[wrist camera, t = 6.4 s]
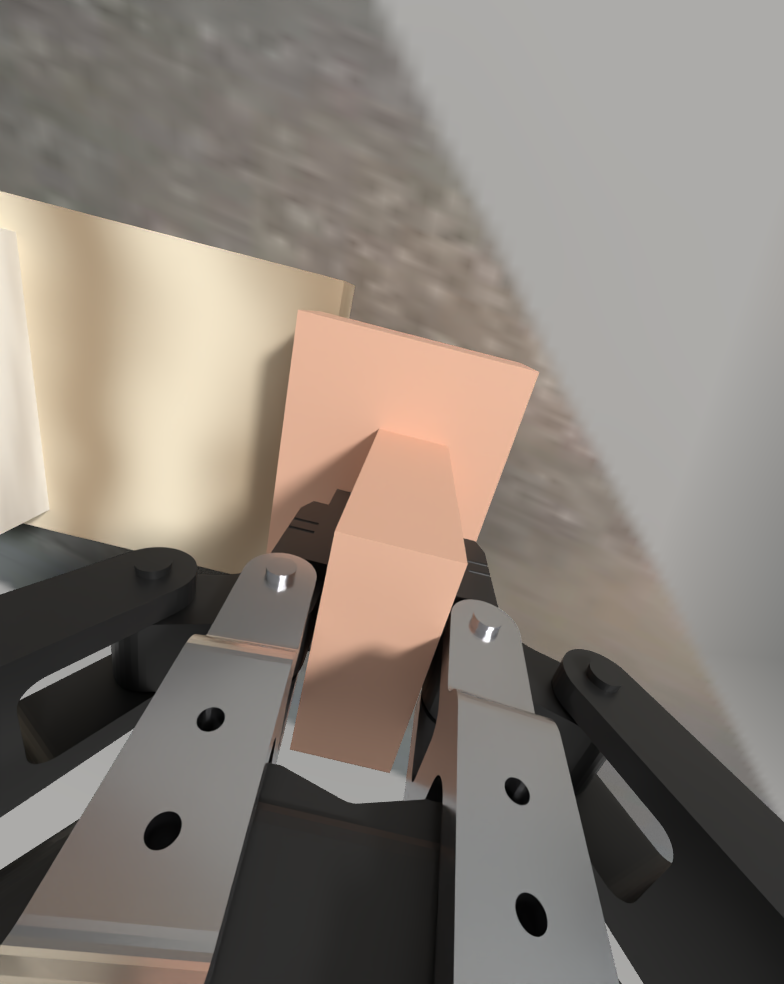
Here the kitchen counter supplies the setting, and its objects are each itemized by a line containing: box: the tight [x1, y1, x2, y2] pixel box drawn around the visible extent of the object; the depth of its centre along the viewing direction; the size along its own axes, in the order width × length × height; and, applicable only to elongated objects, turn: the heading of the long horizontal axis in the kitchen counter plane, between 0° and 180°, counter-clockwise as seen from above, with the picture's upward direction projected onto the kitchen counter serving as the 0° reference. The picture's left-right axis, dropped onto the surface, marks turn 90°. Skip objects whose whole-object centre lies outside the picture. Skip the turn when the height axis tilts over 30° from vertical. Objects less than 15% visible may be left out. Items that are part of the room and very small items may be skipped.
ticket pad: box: [0, 191, 355, 574], centre depth 14 cm, size 18×12×5 cm, turn 77°
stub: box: [266, 310, 539, 773], centre depth 11 cm, size 6×10×8 cm, turn 167°
